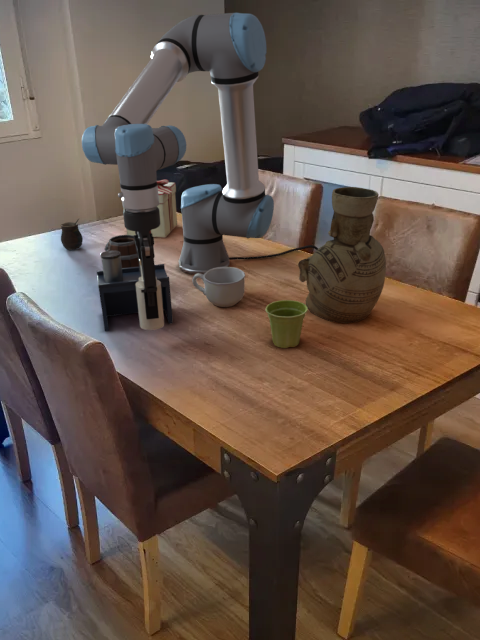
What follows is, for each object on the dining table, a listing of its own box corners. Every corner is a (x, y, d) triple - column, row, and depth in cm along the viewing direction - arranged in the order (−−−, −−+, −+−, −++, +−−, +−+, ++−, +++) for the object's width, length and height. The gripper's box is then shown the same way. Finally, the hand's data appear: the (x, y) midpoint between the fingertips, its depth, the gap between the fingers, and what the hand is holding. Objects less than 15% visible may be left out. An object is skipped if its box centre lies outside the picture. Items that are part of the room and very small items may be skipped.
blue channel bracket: (167, 308, 167) (163, 263, 160) (172, 323, 159) (169, 277, 152) (103, 315, 165) (96, 270, 158) (104, 331, 157) (98, 285, 150)
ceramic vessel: (291, 300, 168) (295, 181, 151) (371, 297, 167) (384, 178, 150) (299, 331, 152) (305, 203, 135) (388, 328, 151) (404, 199, 135)
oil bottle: (162, 318, 148) (157, 253, 139) (165, 328, 143) (160, 262, 134) (138, 321, 147) (131, 256, 138) (141, 331, 142) (133, 264, 134)
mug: (158, 291, 177) (153, 238, 168) (122, 303, 171) (115, 249, 162) (127, 277, 187) (121, 226, 179) (92, 288, 181) (84, 236, 173)
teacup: (251, 297, 170) (251, 269, 166) (235, 313, 162) (235, 283, 158) (204, 291, 175) (203, 263, 171) (187, 306, 167) (185, 277, 163)
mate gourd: (66, 244, 216) (61, 214, 210) (87, 244, 215) (83, 214, 209) (59, 251, 210) (53, 221, 204) (81, 251, 209) (76, 221, 203)
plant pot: (295, 355, 142) (296, 319, 137) (258, 346, 146) (258, 311, 141) (312, 339, 148) (314, 304, 143) (276, 331, 152) (277, 297, 148)
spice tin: (122, 275, 157) (119, 249, 154) (124, 282, 153) (121, 255, 150) (103, 277, 157) (99, 251, 153) (104, 284, 153) (100, 257, 149)
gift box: (123, 240, 217) (116, 188, 208) (136, 224, 232) (131, 175, 223) (171, 240, 214) (167, 187, 205) (182, 224, 229) (178, 174, 220)
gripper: (119, 198, 138) (131, 299, 150) (126, 221, 122) (138, 331, 135) (153, 195, 139) (162, 295, 151) (164, 218, 123) (173, 327, 136)
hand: (151, 312), depth 143 cm, fingers closed on oil bottle, 6 cm apart
